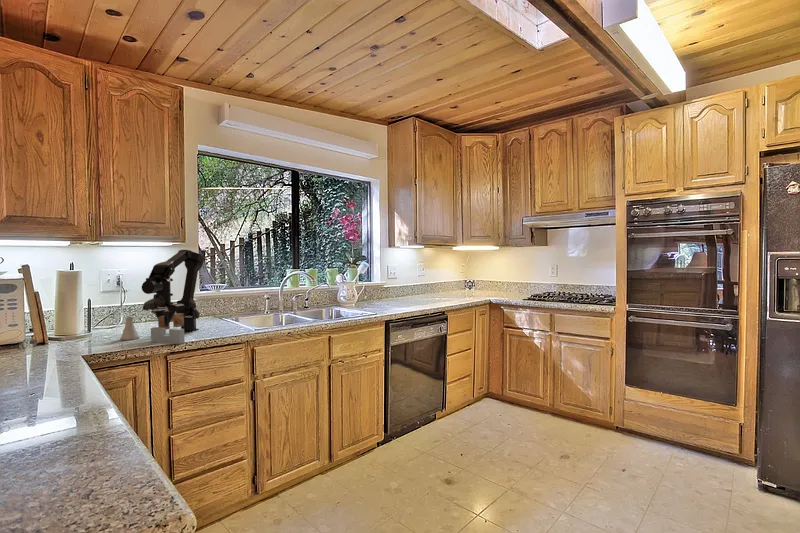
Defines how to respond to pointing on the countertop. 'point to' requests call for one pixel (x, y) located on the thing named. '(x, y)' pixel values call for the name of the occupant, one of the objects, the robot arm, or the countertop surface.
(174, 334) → the slotted stand
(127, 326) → the flask
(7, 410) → the countertop surface
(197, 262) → the robot arm
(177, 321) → the walnut board
